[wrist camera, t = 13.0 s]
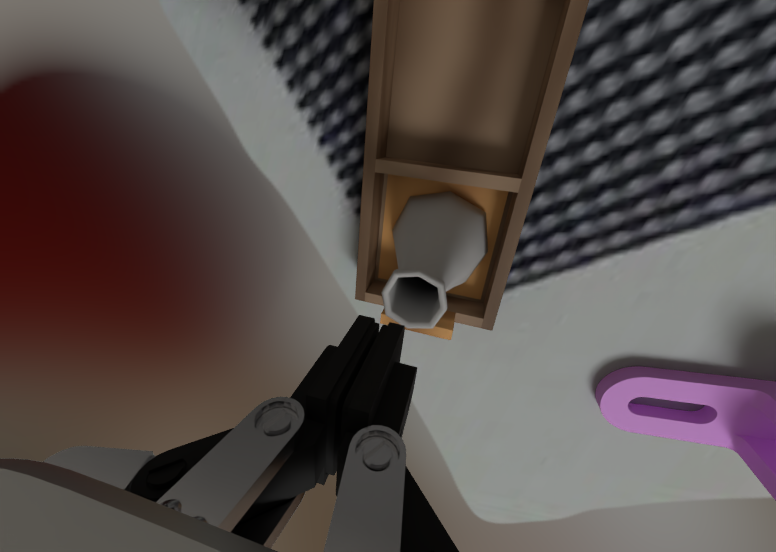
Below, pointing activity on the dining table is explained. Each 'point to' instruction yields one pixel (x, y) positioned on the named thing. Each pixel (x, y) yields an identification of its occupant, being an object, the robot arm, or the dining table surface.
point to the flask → (432, 256)
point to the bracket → (698, 412)
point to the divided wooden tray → (460, 128)
